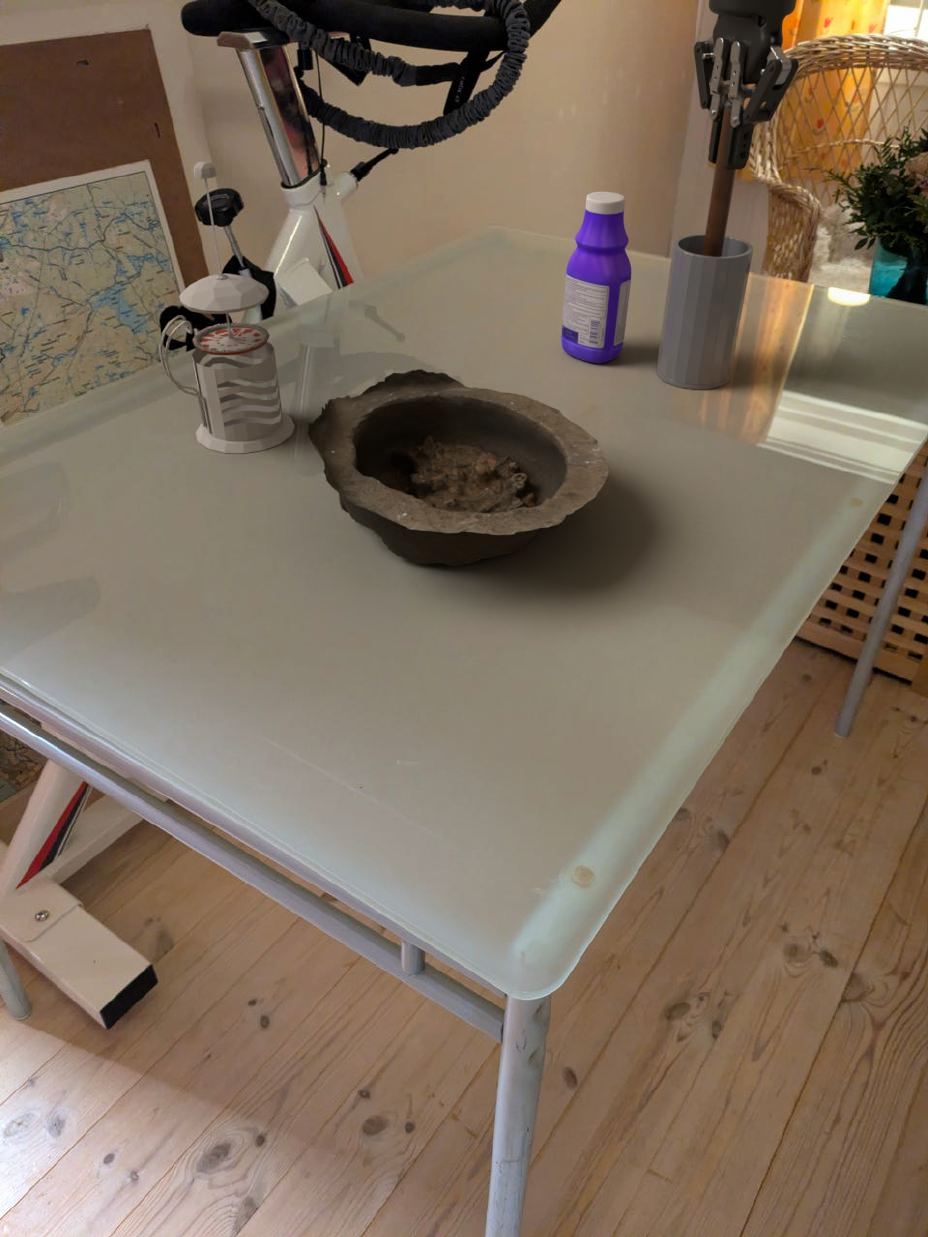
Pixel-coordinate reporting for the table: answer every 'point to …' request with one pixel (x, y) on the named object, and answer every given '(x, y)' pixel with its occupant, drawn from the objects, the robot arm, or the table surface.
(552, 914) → the table surface
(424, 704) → the table surface
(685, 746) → the table surface
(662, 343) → the cylindrical container
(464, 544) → the stone bowl
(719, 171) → the brush
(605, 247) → the bottle
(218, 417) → the french press
